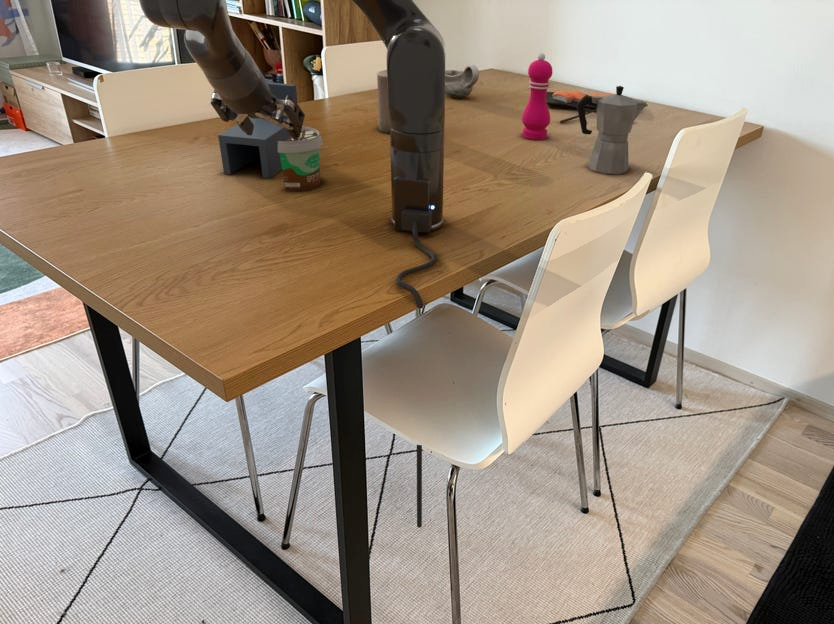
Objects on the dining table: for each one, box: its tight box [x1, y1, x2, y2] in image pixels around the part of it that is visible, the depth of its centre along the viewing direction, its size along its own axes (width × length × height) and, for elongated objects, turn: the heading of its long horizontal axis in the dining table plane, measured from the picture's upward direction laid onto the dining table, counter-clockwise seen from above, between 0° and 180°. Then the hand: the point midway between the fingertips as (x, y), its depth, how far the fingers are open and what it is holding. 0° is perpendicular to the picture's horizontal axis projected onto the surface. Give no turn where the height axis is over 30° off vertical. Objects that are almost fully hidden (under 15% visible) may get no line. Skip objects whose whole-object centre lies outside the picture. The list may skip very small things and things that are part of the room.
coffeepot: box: [576, 85, 649, 175], centre depth 156 cm, size 15×9×18 cm, turn 88°
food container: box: [278, 125, 324, 192], centre depth 140 cm, size 12×6×10 cm, turn 168°
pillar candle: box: [376, 69, 390, 134], centre depth 176 cm, size 10×10×15 cm
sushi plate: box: [546, 90, 614, 124], centre depth 204 cm, size 29×30×4 cm
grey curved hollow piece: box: [445, 64, 480, 99], centre depth 211 cm, size 10×12×10 cm
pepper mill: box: [521, 52, 553, 141], centre depth 175 cm, size 7×7×20 cm
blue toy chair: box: [217, 81, 299, 179], centre depth 149 cm, size 18×10×15 cm, turn 170°
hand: (274, 132), depth 124 cm, fingers open, 8 cm apart
